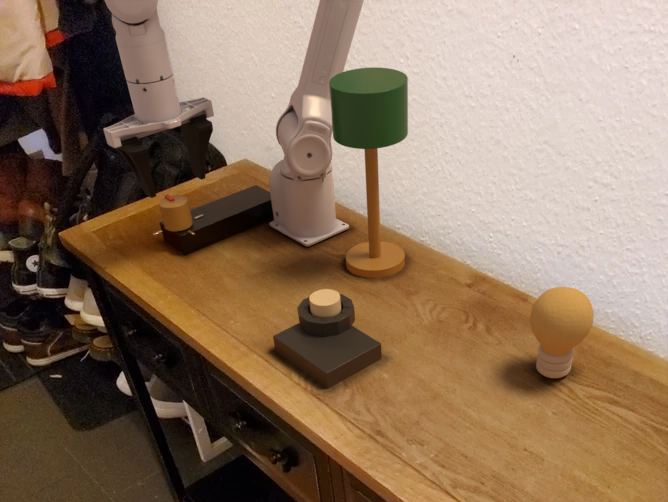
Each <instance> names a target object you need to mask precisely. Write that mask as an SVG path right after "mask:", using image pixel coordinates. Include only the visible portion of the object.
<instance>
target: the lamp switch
mask: <svg viewBox="0 0 668 502" xmlns="http://www.w3.org/2000/svg"><path fill="white" fill-rule="evenodd" d="M340 294H341V293H340V292H338V291H337V290H335V289H330V288H324V289H318V290H315V291H313V292H312V293H311V294H310V295H309V296H308V297H309V301H310V310H311V313H312V315H313V316H315V317H321V318H325V317H332V316H335V315H337V314H339V313H340V311H341V299H340Z"/></svg>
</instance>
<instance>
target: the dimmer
mask: <svg viewBox="0 0 668 502" xmlns="http://www.w3.org/2000/svg"><path fill="white" fill-rule="evenodd" d="M190 212H191V217H192V221H193V224H192V226H191V227H190V228H188V229H186V230H182V231H168V230H166V229H165V227H164V223H163V220H161V221H159V226H160V230H159V231H156V232H153V233H152V236H154V237H155V236H157V235H159V234H161V235H162V238H163V242H164V243H166V244H167V245H169V246H170V247H172V248H173V249H175V251H177V252H179V253H180V254H182V255H184V256H185V257H186V256H188V255H190V254H193V253H196V252H197V251H198V252H199V251H200V250H202V249H204V248H207V247H209V246H212V245H215V244H217V243H219V242H221V241H224V240H226V239H229V238H231V237H233V236H236V235H238V234H241V233H243V232H245V231H248V230H251V229H253V228H255V227H258V226H260V225H263V224H265V223H267V222H269V221H270V222H271V221H273V220H274V216H273V209H272V202H271V195H270V190H267V189H265V188H263V187H261V186H259V185H257V184H254V185H252V186H249V187H246V188H245V189H242V190H239V191H237V192H236V191H235V192H234V193H231V194H229V195H226V196H223V197H221V198H218V199H216V200H213V201H210V202H208V203H206V204H203V205H200V206H198V207H195V208H192V209H190Z"/></svg>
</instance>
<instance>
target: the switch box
mask: <svg viewBox="0 0 668 502" xmlns="http://www.w3.org/2000/svg"><path fill="white" fill-rule="evenodd" d="M339 294H340V299H341V311H340V313H339V314H337V315H335V316H332V317H325V318H321V317H315V316H313V315H312V313H311V310H310V301H309V297H310V296H308V297H306V298H303V300H302V301H301V302H300V303H299V304H298V306H297V308H296V310H297V316H298V317H297V318H298V323H296V324H294V325H292V326H291V327H288V328H286V329H284V330H282V331H280V332H279V333H276V334H274V335H273V336H272V340H273V345H274V351H275V352H276V353H277V354H278V355H280V356H281V357H283V358H284V359H286V360H287V361H288V362H289V363H291V364H293V365H294V366H295V367H297V368H298V369H299V370H301V371H302V372H304V373H305V374H306V375H308V376H309V377H311V378H312V379H313V380H315V381H316V382H317V383H319V384H320V385H322V386H323V387H324V388H326V389H328V390H329V389H331V388H333V387H334V386H336V385H338V384H340V383H342V382H343V381H345V380H346V379H348V378H351V377H353V376H354V375H355V374H357V373H359V372H361V371H363V370H364V369H366V368H368V367H370V366H372V365H373V364H375V363H377V362H379V361H380V360H382V356H383V355H382V343H381V342H380V341H378V340H377V339H375V338H373V337H371V336H370V335H368V334H367V333H365V332H363V331H361V330H360V329H359V328H357V327H355V326H354V325H353V324H354V323H355V321H356V313H355V305H354V303H353V300H352V299H351V298H350V297H348V296H346V295H344V294H342V293H339Z"/></svg>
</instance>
